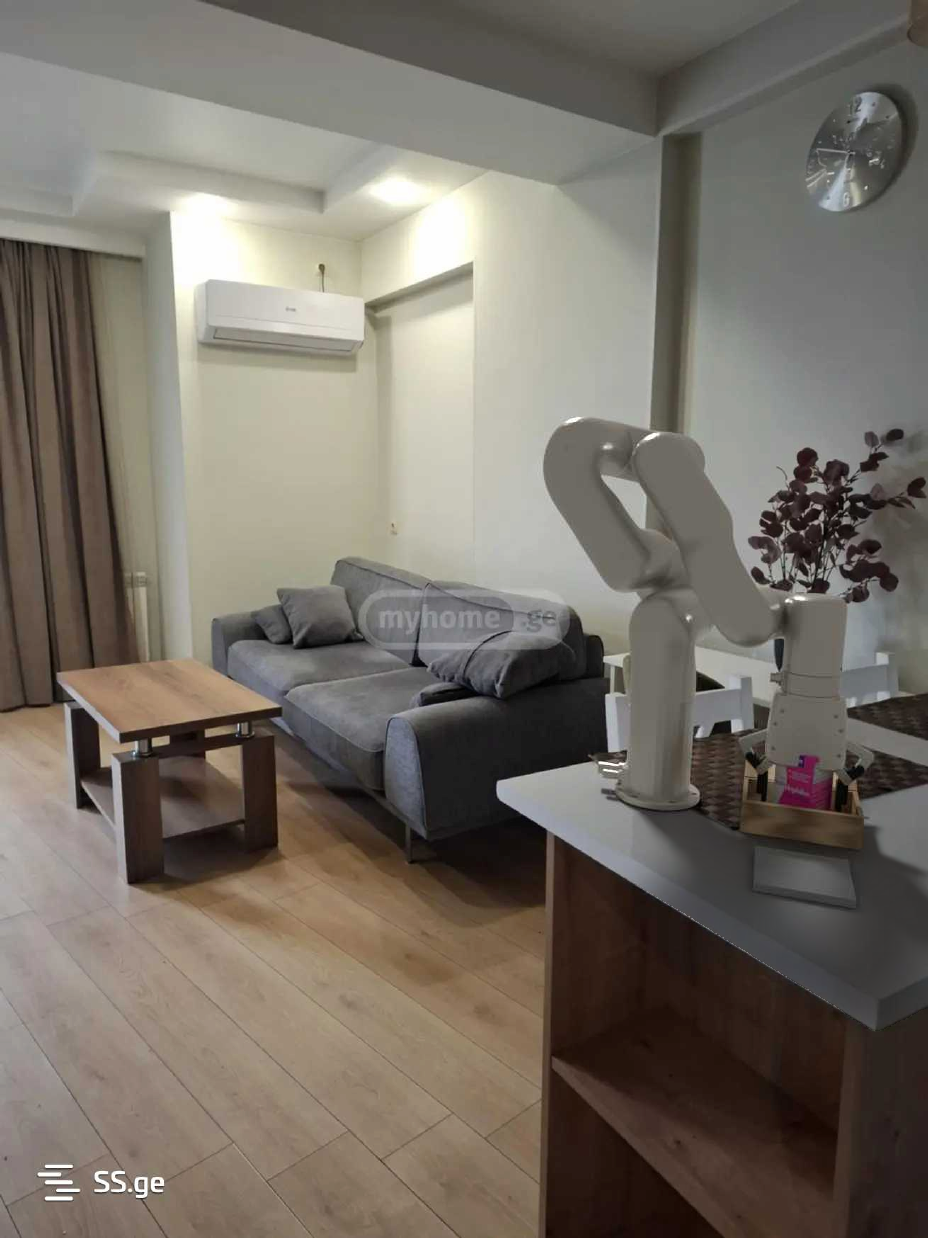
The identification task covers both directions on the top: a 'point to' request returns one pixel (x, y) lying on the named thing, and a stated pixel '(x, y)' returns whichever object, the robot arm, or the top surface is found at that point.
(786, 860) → the mat
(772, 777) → the wooden crate
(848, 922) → the top surface
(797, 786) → the supplement box
